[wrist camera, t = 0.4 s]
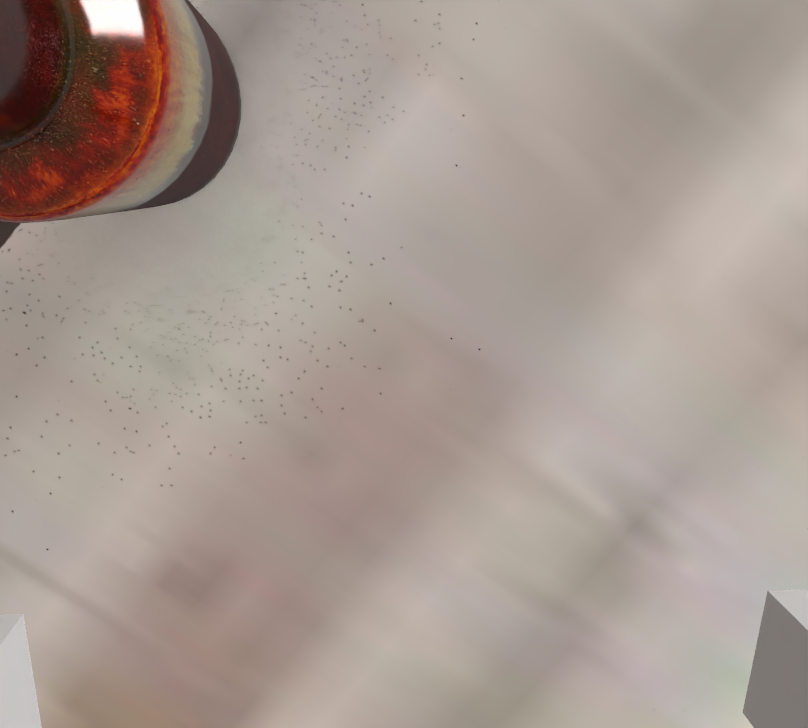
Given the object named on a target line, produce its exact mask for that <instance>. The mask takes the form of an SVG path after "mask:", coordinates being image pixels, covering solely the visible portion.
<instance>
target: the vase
mask: <svg viewBox="0 0 808 728" xmlns="http://www.w3.org/2000/svg"><path fill="white" fill-rule="evenodd" d="M240 119H241V98H240V89H239V83H238V79H237V76H236V72H235V68H234V65H233V63H232V61H231V59H230V56H229V54H228V52H227V50H226V48H225V46H224V45H223V43H222V41H221V40H220V38H219V36H218V35H217V33H216V32H215V31H214V30H213V29H212V27H211V26H210V25H209V24H208V22H207V21H206V20H205V19H204V18H203V17H202V15H201V14H200V13H199V12H198V11H197V10H196V9H195V7H194V6H193V5H192V4H191V3H190V2H189V1H188V0H0V221H1V222H13V223H29V222H44V221H54V220H63V219H71V218H79V217H86V216H93V215H100V214H108V213H115V212H122V211H129V210H136V209H143V208H150V207H156V206H161V205H166V204H170V203H174V202H177V201H180V200H182V199H184V198H187V197H189V196H191V195H193V194H194V193H196V192H197V191H199V190H201V189H202V188H203V187H205V186H206V185H207V184H208V183H209V182H210V181H211V180H212V179H214V178H215V176H216V175H217V174H218V173H219V171H220V170H221V169H222V168H223V166H224V165H225V163H226V161H227V159H228V158H229V156H230V154H231V152H232V150H233V147H234V144H235V141H236V139H237V136H238V130H239V125H240Z"/></svg>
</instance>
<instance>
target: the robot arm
mask: <svg viewBox="0 0 808 728" xmlns="http://www.w3.org/2000/svg"><path fill="white" fill-rule="evenodd" d="M743 713H744V715H745V716H746V717H747V719H748V720H749V721H750V723H751V724H752V726H753V727H754V728H808V590H807V589H804V590H772V591H768V592H767V596H766V601H765V606H764V611H763V616H762V621H761V626H760V631H759V636H758V640H757V645H756V650H755V655H754V660H753V665H752V670H751V675H750V680H749V684H748V689H747V694H746V699H745V704H744V709H743ZM0 728H42V727H41V721H40V715H39V709H38V703H37V696H36V690H35V684H34V678H33V671H32V665H31V659H30V653H29V647H28V640H27V634H26V628H25V622H24V615H23V614H0Z"/></svg>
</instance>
